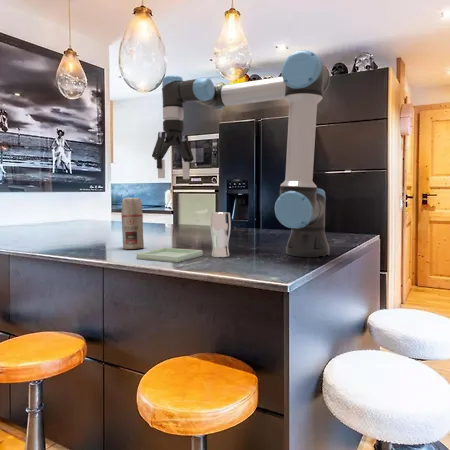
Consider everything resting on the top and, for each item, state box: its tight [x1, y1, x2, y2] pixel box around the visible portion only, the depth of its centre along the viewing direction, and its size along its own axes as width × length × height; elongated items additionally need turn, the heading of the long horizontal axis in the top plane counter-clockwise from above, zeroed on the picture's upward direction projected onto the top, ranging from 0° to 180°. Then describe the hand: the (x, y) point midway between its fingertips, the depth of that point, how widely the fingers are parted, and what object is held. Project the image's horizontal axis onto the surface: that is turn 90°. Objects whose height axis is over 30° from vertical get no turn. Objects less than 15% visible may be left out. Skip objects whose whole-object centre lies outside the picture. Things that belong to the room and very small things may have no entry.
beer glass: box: [209, 211, 232, 258], centre depth 141 cm, size 7×7×15 cm
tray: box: [136, 247, 204, 264], centre depth 139 cm, size 16×16×2 cm
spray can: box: [121, 197, 145, 250], centre depth 159 cm, size 8×8×20 cm
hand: (174, 178), depth 151 cm, fingers open, 13 cm apart
